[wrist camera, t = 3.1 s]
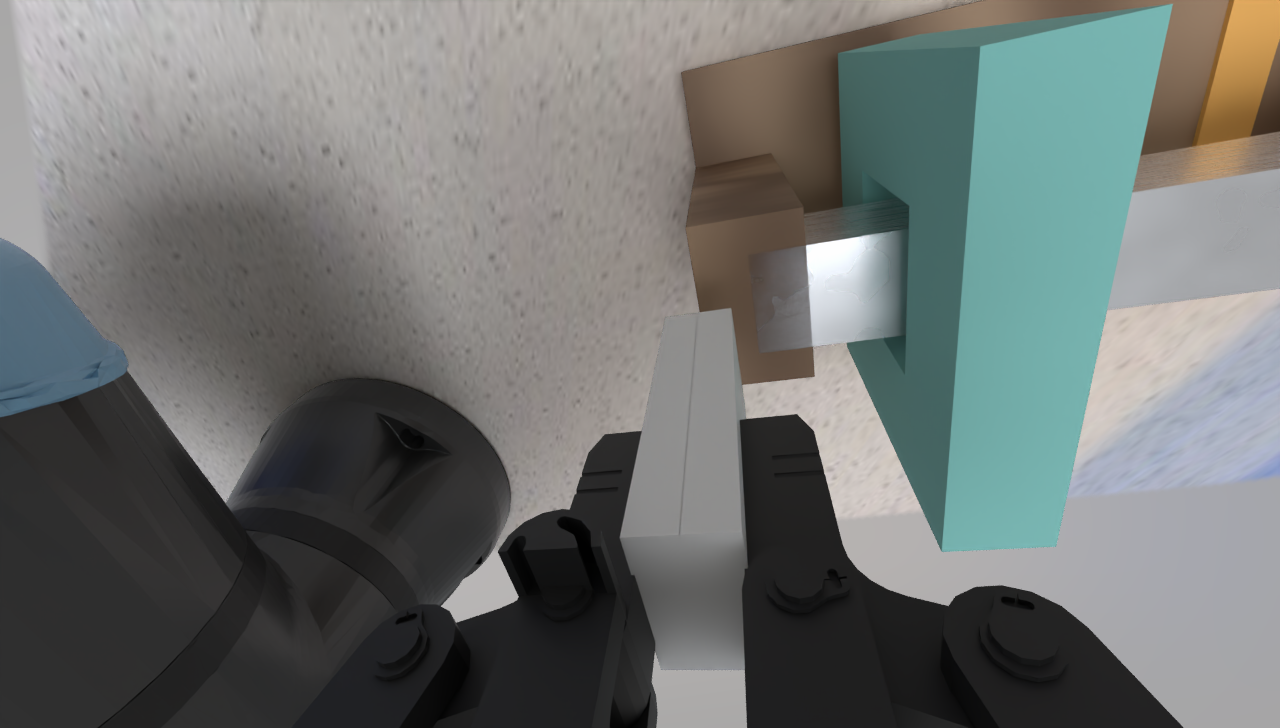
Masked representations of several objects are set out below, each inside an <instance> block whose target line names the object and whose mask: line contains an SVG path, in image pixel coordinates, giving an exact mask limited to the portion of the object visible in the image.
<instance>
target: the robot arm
mask: <svg viewBox="0 0 1280 728" xmlns="http://www.w3.org/2000/svg"><path fill="white" fill-rule="evenodd" d="M127 367H128V361H127V358H126V356H125V354H124V351H123V350H122V349H121V348H120V347H119V346H118V345H117V344H116V343H114V342H111V341H109V340H107V339H104V338H103V337H102V336H101V335H100V334H99V332H98V331H97V330H96V329H95V328H94V326H93V325H92V324H91V323H90V321H89V320H88V319H87V318H86V317H85V315H84V314H83V313H82V312H81V311H80V309H79V308H78V307H77V306H76V305H75V303H74V302H73V301H72V300H71V299H70V297H69V296H68V295H67V294H66V293H65V291H64V290H63V289H62V288H61V287H60V285H59V284H58V283H57V282H56V281H55V279H54V278H53V277H52V276H51V275H50V273H49V272H48V271H47V270H46V269H45V267H44V266H42V265H41V264H40V263H39V262H38V261H37V260H36V259H35V258H34V257H32V256H31V255H30V254H28V253H27V252H25V251H24V250H23V249H21V248H19V247H18V246H16V245H14V244H12V243H10V242H9V241H6V240H4V239H1V238H0V728H656V724H657V702H656V694H655V691H654V688H653V685H652V682H651V681H652V672H653V663H654V662H653V661H654V653H655V652H656V655H657V658H658V662H659V665H660V668H661V670H745V683H746V684H745V685H746V710H747V728H1183V727H1182V726H1181V725H1180V723H1179V722H1178V721H1177V720H1176V719H1175V718H1174V717H1173V716H1172V715H1171V714H1170V713H1169V712H1168V711H1167V710H1166V709H1165V708H1164V707H1163V706H1162V705H1161V704H1160V703H1159V701H1158V700H1157V699H1156V698H1154V696H1153V695H1152V694H1151V693H1150V692H1149V691H1148V690H1147V689H1146V688H1145V687H1144V686H1143V685H1142V684H1141V683H1140V682H1139V681H1138V679H1137V678H1136V677H1135V676H1134V675H1133V674H1132V673H1131V672H1130V671H1129V670H1128V669H1127V668H1126V667H1125V666H1124V665H1123V664H1122V663H1121V662H1120V661H1119V660H1118V659H1117V657H1116V656H1115V655H1114V654H1113V653H1112V652H1111V651H1110V650H1109V649H1108V648H1107V647H1106V646H1105V645H1104V644H1103V643H1102V642H1101V641H1100V640H1099V639H1098V638H1097V637H1096V635H1094V634H1093V632H1092V631H1091V630H1090V629H1089V628H1088V627H1087V626H1085V625H1084V624H1083V623H1082V622H1080V621H1079V620H1078V619H1077V618H1076V617H1074V616H1073V615H1072V614H1071V613H1069V612H1068V611H1067V610H1066V609H1064V608H1063V607H1062V606H1060V605H1058V604H1056V603H1054V602H1052V601H1050V600H1047V599H1045V598H1043V597H1041V596H1039V595H1037V594H1035V593H1033V592H1030V591H1025V590H1020V589H1016V588H1011V587H1006V586H984V587H975V588H972V589H970V590H968V591H966V592H964V593H962V594H960V595H958V596H955V598H954V599H953V601H952V602H951V604H950V605H949V606H946V605H941V604H937V603H933V602H929V601H925V600H921V599H917V598H912V597H908V596H905V595H902V594H899V593H896V592H893V591H890V590H888V589H886V588H884V587H882V586H880V585H878V584H877V583H875V582H873V581H871V580H870V579H868V578H867V577H866V576H865V575H864V574H863V573H861V572H860V571H859V570H858V569H857V568H856V567H855V566H854V565H853V563H852V562H851V560H850V559H849V558H848V556H847V554H846V551H845V549H844V547H843V544H842V540H841V537H840V532H839V529H838V525H837V521H836V517H835V513H834V509H833V505H832V501H831V497H830V493H829V489H828V485H827V481H826V477H825V474H824V469H823V465H822V462H821V458H820V455H819V450H818V446H817V442H816V438H815V434H814V431H813V430H812V429H811V428H810V427H809V426H808V425H807V424H806V423H805V422H804V421H803V420H802V419H801V418H800V417H799V416H798V415H797V414H795V415H784V416H774V417H764V418H753V419H746V412H745V403H744V396H743V389H742V382H741V375H740V367H739V360H738V353H737V346H736V339H735V332H734V325H733V317H732V310H731V308H727V309H720V310H713V311H706V312H699V313H691V314H684V315H677V316H670V317H665V322H664V327H663V331H662V336H661V341H660V346H659V351H658V355H657V360H656V365H655V370H654V375H653V380H652V384H651V389H650V394H649V399H648V404H647V409H646V413H645V418H644V423H643V428H642V431H637V432H626V433H616V434H605V435H604V436H603V437H602V438H601V439H600V441H599V442H598V443H597V444H596V445H595V446H594V447H593V448H592V450H591V451H590V452H589V453H588V456H587V459H586V462H585V465H584V468H583V471H582V477H580V480H579V483H578V486H577V489H576V491H577V494H575V496H574V499H573V502H572V505H571V508H570V510H566V509H561V510H556V511H551V512H546V513H542V514H540V515H538V516H536V517H534V518H532V519H530V520H528V521H526V522H524V523H523V524H522V525H521V526H519V527H518V528H517V529H516V530H515V531H513V532H512V533H511V534H510V535H509V536H508V537H507V539H506V540H505V542H504V543H503V545H502V546H501V548H500V549H499V551H498V553H499V555H500V557H501V560H502V562H503V564H504V566H505V568H506V570H507V572H508V575H509V577H510V579H511V581H512V583H513V585H514V587H515V590H516V592H517V594H518V596H519V598H518V600H517V601H515V602H514V603H511V604H509V605H507V606H504V607H502V608H500V609H497V610H494V611H491V612H488V613H485V614H482V615H479V616H476V617H473V618H470V619H467V620H464V621H460V622H457V623H456V622H455V620H454V619H453V617H452V615H451V613H450V611H448V610H446V609H444V608H442V607H441V605H442V604H443V603H444V602H445V601H446V600H447V599H448V598H449V597H450V595H451V594H452V593H453V592H454V591H455V590H456V588H457V587H458V586H459V584H460V583H461V581H462V580H463V579H464V578H465V577H468V576H469V575H470V574H472V573H473V572H474V571H476V570H477V569H478V568H479V567H480V566H481V565H482V564H483V562H484V561H485V560H486V559H487V558H488V557H489V555H490V554H491V552H492V550H493V549H494V547H495V545H496V543H497V540H498V538H499V536H500V534H501V532H502V530H503V527H504V525H505V523H506V521H507V518H508V514H509V510H510V489H509V484H508V480H507V477H506V474H505V471H504V469H503V467H502V464H501V462H500V461H499V459H498V457H497V455H496V454H495V452H494V451H493V449H492V448H491V446H490V445H489V444H488V442H487V441H486V440H485V439H484V438H483V436H482V435H481V434H480V433H479V432H478V431H477V430H476V429H475V428H474V427H473V426H472V425H471V424H470V423H469V422H467V421H466V420H465V419H464V418H463V417H461V416H460V415H459V414H457V413H456V412H455V411H453V410H452V409H450V408H449V407H447V406H446V405H444V404H442V403H441V402H439V401H437V400H435V399H433V398H431V397H429V396H427V395H425V394H423V393H421V392H418V391H416V390H413V389H411V388H408V387H405V386H401V385H398V384H394V383H390V382H385V381H380V380H371V379H346V380H339V381H333V382H330V383H326V384H323V385H320V386H318V387H316V388H314V389H312V390H310V391H309V392H307V393H306V394H304V395H303V396H302V397H300V398H299V399H298V400H297V401H296V402H294V403H293V404H292V405H291V406H289V407H288V408H287V409H286V410H285V411H283V412H282V413H281V414H280V415H279V416H278V417H277V418H276V419H275V420H274V421H273V422H272V423H271V425H270V426H269V427H268V428H267V430H266V432H265V433H264V435H263V437H262V439H261V442H260V445H259V446H258V448H257V450H256V451H255V453H254V454H253V456H252V458H251V460H250V461H249V463H248V465H247V466H246V468H245V470H244V472H243V473H242V475H241V477H240V479H239V480H238V482H237V484H236V486H235V488H234V489H233V491H232V493H231V495H230V497H229V499H228V500H227V502H226V503H225V502H224V501H223V499H222V498H221V497H220V495H219V494H218V493H217V491H216V490H215V489H214V487H213V486H212V485H211V483H210V482H209V481H208V479H207V478H206V477H205V475H204V474H203V473H202V471H201V470H200V469H199V467H198V466H197V465H196V463H195V462H194V461H193V459H192V458H191V457H190V456H189V454H188V453H187V452H186V450H185V449H184V447H183V446H182V445H181V443H180V442H179V441H178V439H177V438H176V437H175V435H174V434H173V432H172V431H171V430H170V428H169V427H168V426H167V424H166V423H165V422H164V420H163V419H162V418H161V416H160V415H159V413H158V412H157V411H156V409H155V408H154V407H153V405H152V404H151V403H150V401H149V400H148V398H147V397H146V396H145V394H144V393H143V392H142V390H141V389H140V388H139V386H138V385H137V383H136V382H135V381H134V379H133V378H132V377H131V375H130V374H129V373H128V371H127Z"/></svg>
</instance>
